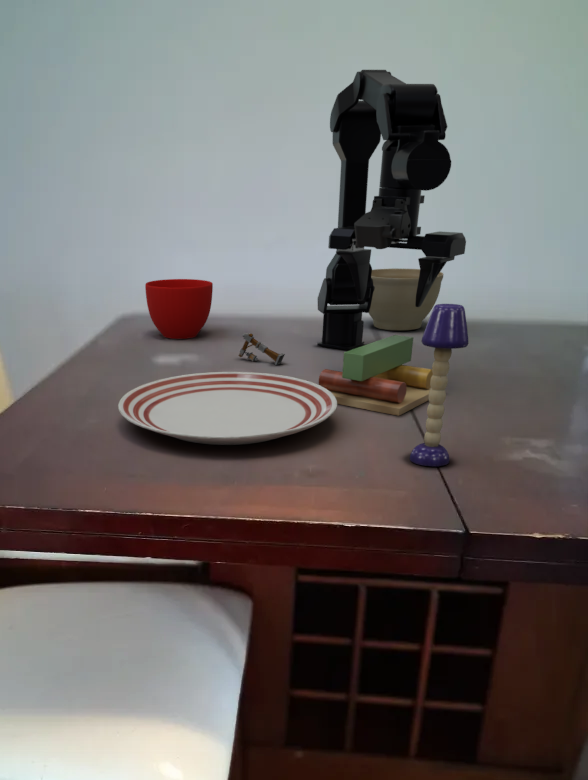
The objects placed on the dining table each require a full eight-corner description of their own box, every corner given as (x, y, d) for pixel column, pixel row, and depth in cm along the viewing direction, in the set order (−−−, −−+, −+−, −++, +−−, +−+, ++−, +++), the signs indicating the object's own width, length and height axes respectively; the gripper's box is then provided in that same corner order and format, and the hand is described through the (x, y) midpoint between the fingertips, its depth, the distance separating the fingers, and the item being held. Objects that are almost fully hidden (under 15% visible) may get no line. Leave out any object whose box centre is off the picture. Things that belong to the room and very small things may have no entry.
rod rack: (307, 398, 105) (308, 371, 104) (355, 378, 115) (357, 354, 113) (398, 415, 97) (401, 387, 95) (442, 393, 107) (445, 367, 105)
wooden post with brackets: (237, 352, 128) (247, 328, 126) (274, 375, 126) (285, 352, 124) (232, 354, 127) (242, 330, 124) (270, 378, 125) (280, 354, 122)
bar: (341, 378, 100) (343, 352, 99) (392, 358, 111) (394, 334, 109) (361, 381, 98) (364, 355, 97) (411, 361, 109) (413, 337, 107)
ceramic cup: (235, 330, 151) (235, 279, 147) (189, 345, 138) (188, 289, 134) (182, 324, 158) (181, 275, 154) (133, 337, 145) (131, 284, 141)
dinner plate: (273, 476, 78) (274, 446, 76) (74, 433, 91) (71, 407, 90) (368, 411, 99) (370, 387, 97) (195, 384, 112) (195, 362, 111)
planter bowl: (376, 317, 164) (380, 266, 159) (448, 325, 155) (455, 271, 151) (343, 329, 152) (347, 273, 147) (419, 338, 143) (426, 279, 139)
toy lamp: (402, 453, 84) (419, 301, 77) (442, 451, 84) (462, 301, 78) (417, 468, 80) (435, 309, 73) (459, 466, 80) (481, 308, 73)
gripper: (311, 188, 102) (305, 304, 109) (440, 191, 92) (424, 319, 98) (351, 185, 110) (343, 294, 117) (475, 188, 99) (458, 307, 106)
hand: (388, 303), depth 109 cm, fingers open, 9 cm apart
